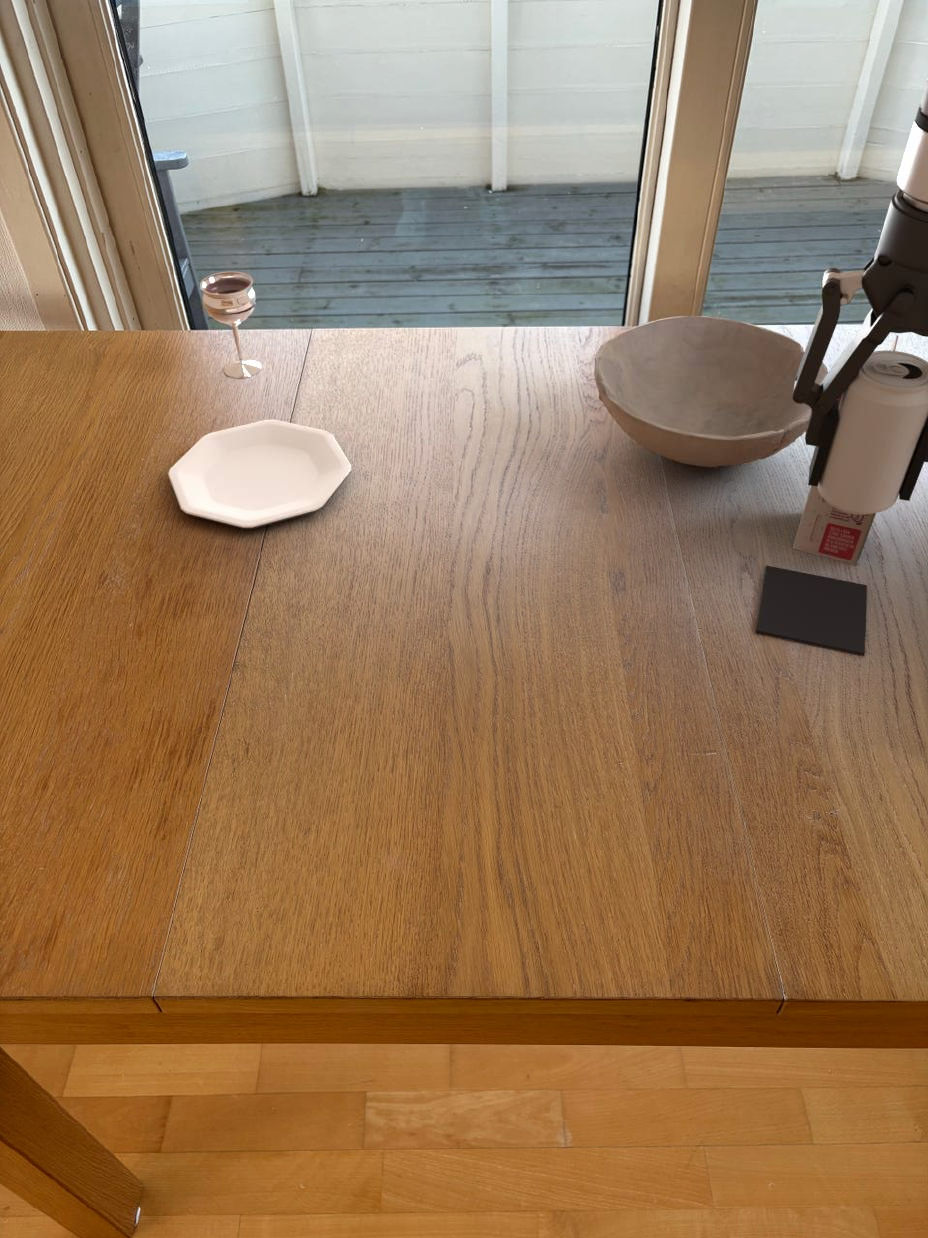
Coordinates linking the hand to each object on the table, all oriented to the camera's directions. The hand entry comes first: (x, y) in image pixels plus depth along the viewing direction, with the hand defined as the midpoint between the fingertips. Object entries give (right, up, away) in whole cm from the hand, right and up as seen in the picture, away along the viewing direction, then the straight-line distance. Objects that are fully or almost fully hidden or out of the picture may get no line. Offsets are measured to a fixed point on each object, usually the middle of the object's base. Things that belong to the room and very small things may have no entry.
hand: (858, 482), depth 78 cm
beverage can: (0, -1, +1) cm, 2 cm away
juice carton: (+7, -3, +24) cm, 25 cm away
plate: (-56, +5, +32) cm, 65 cm away
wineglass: (-62, +23, +50) cm, 83 cm away
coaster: (+2, -10, +16) cm, 19 cm away
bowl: (-4, +10, +37) cm, 38 cm away
